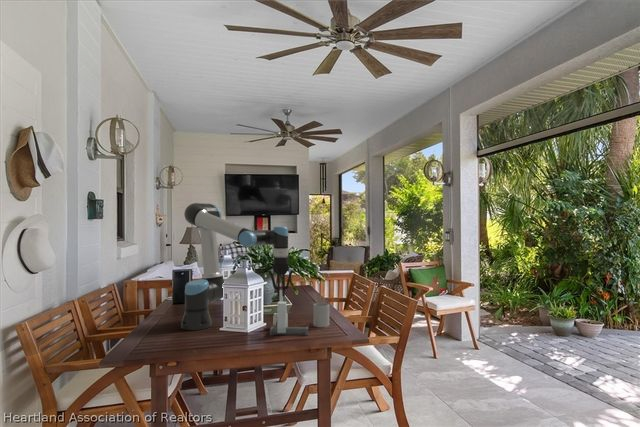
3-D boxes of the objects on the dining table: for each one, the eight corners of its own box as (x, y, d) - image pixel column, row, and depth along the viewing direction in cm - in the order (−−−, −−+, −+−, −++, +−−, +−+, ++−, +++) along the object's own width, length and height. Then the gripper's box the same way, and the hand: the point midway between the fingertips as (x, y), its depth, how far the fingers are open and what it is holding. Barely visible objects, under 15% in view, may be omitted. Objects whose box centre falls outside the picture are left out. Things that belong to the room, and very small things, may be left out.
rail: (270, 335, 184) (270, 329, 184) (270, 332, 188) (270, 326, 188) (308, 335, 184) (308, 329, 184) (308, 332, 188) (308, 326, 189)
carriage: (277, 332, 184) (277, 303, 184) (278, 330, 188) (278, 301, 188) (285, 332, 184) (285, 303, 184) (286, 330, 188) (286, 301, 188)
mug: (330, 327, 198) (330, 306, 198) (313, 327, 197) (313, 306, 197) (327, 321, 210) (328, 301, 210) (312, 321, 209) (312, 301, 209)
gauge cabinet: (273, 330, 192) (273, 316, 192) (274, 326, 198) (274, 313, 198) (287, 330, 192) (287, 316, 192) (287, 326, 198) (287, 313, 199)
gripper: (267, 257, 192) (267, 304, 192) (293, 257, 192) (293, 304, 192) (269, 256, 199) (269, 301, 199) (293, 255, 200) (294, 301, 199)
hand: (281, 302), depth 195 cm, fingers closed
